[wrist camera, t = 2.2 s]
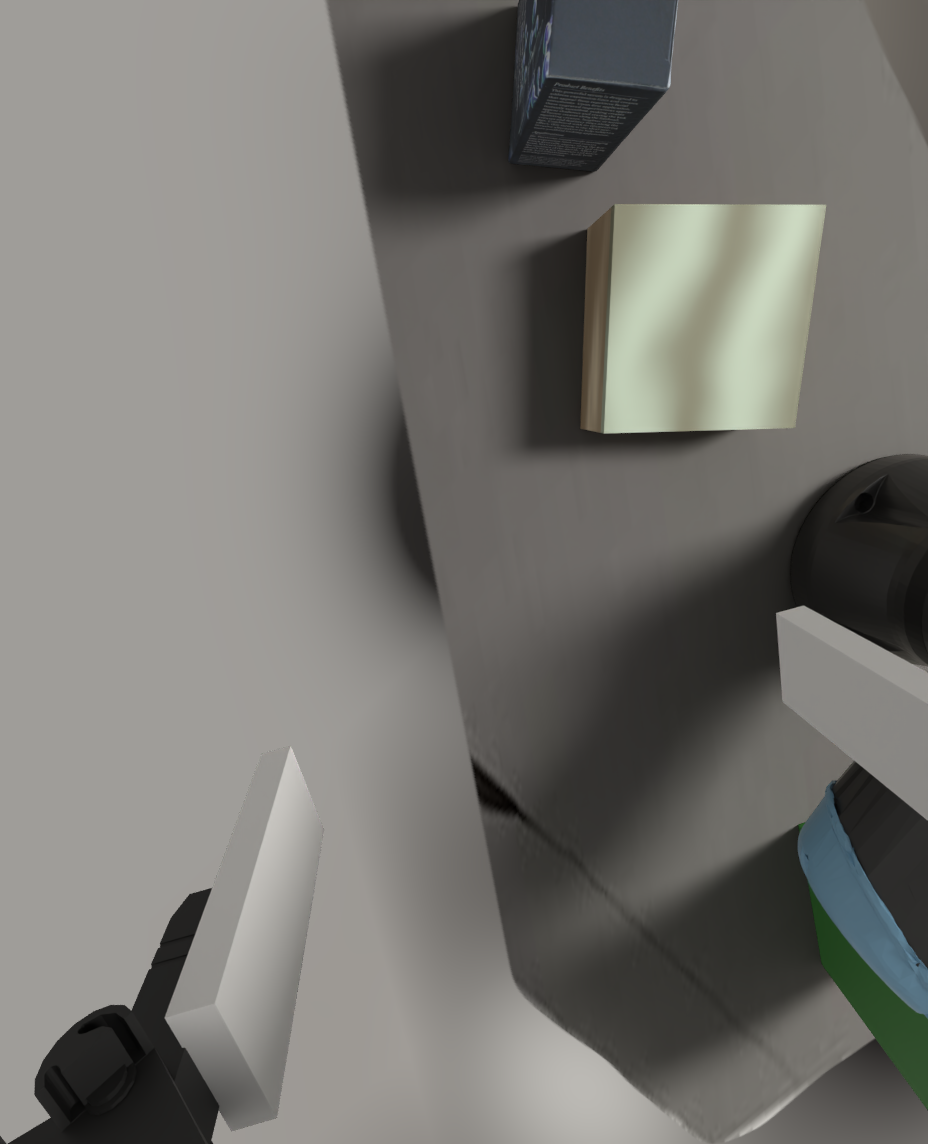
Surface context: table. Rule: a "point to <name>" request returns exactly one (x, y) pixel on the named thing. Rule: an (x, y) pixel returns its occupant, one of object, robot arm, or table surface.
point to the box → (586, 77)
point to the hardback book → (875, 1002)
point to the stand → (697, 316)
